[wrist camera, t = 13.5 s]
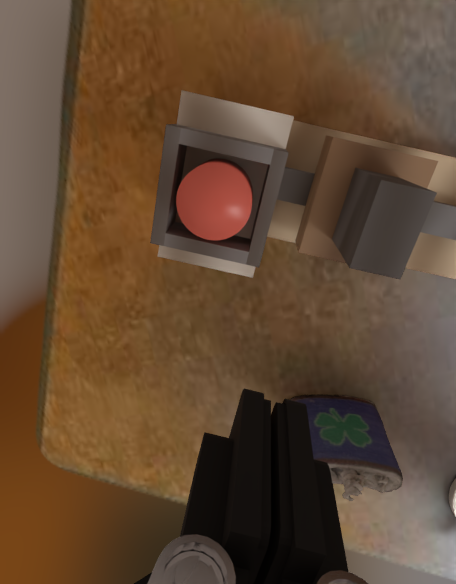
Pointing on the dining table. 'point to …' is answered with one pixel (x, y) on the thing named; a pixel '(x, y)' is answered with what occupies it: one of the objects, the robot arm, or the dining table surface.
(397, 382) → the dining table surface
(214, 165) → the red dome button
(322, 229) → the carriage
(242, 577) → the robot arm
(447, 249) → the rail
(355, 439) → the flask
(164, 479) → the dining table surface
